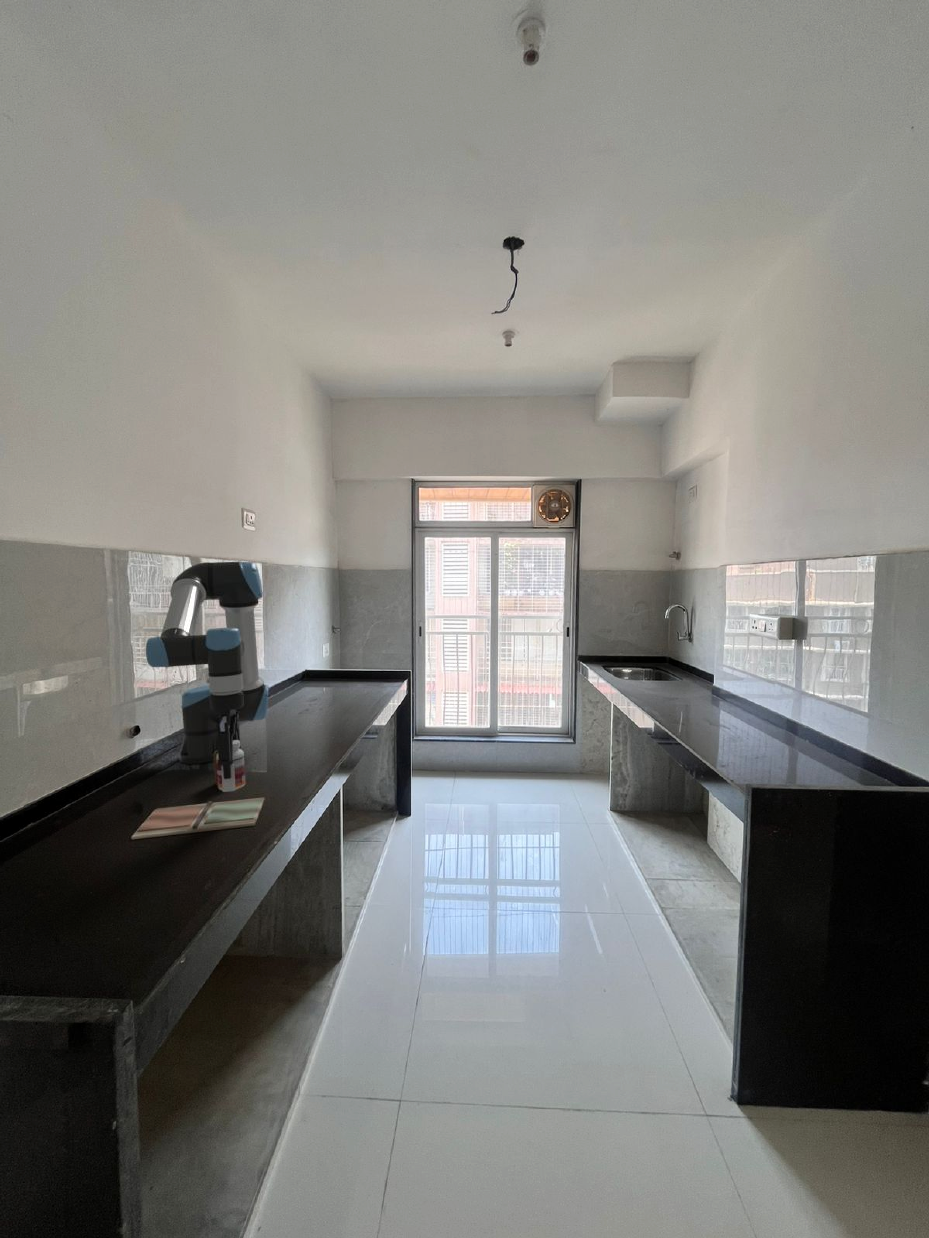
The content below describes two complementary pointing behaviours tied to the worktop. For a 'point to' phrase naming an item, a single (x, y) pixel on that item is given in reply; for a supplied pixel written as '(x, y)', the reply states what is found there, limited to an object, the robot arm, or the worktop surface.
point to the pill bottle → (238, 767)
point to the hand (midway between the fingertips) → (232, 785)
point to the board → (200, 818)
